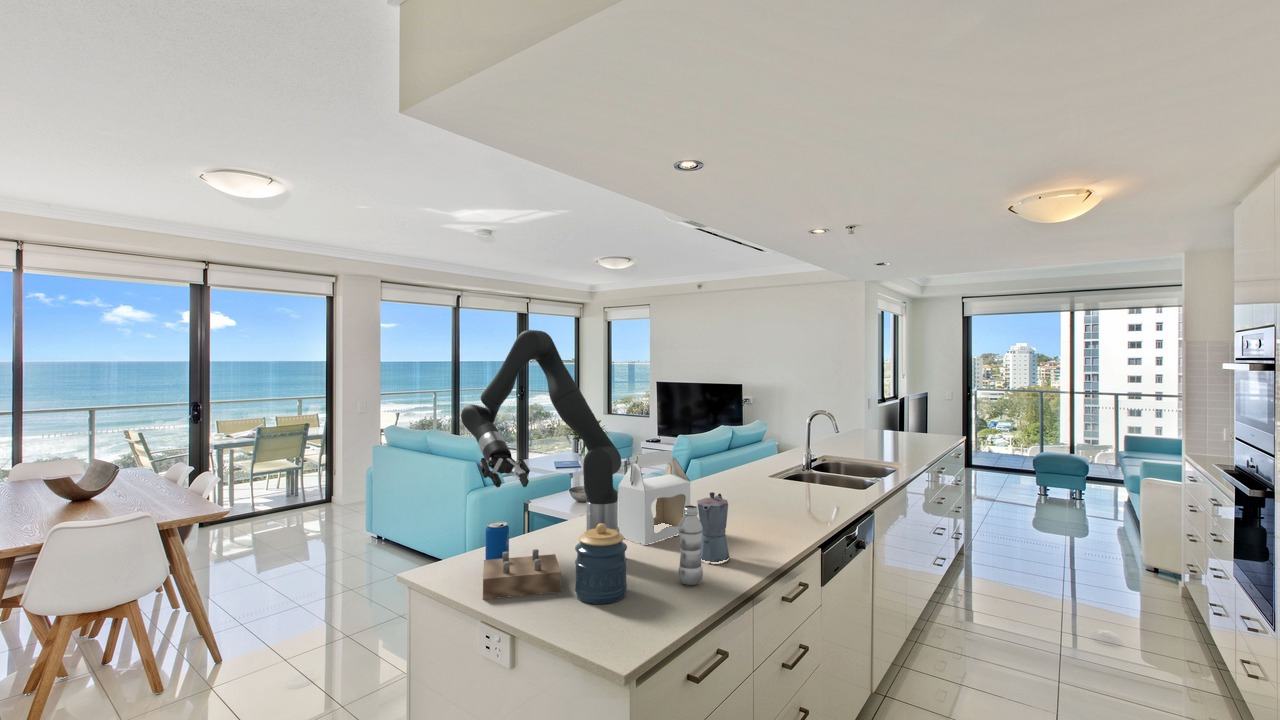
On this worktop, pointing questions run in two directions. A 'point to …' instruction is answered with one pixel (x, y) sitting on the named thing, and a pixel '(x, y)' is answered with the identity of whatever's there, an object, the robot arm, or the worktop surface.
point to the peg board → (521, 575)
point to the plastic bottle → (690, 547)
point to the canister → (601, 566)
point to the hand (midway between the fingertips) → (513, 485)
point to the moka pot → (713, 528)
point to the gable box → (652, 498)
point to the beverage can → (496, 540)
